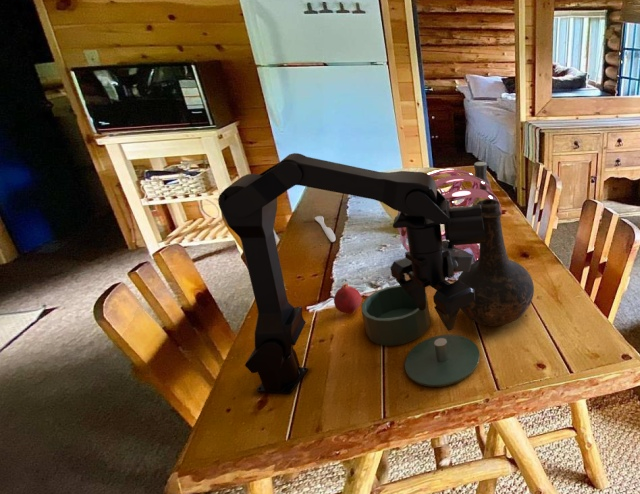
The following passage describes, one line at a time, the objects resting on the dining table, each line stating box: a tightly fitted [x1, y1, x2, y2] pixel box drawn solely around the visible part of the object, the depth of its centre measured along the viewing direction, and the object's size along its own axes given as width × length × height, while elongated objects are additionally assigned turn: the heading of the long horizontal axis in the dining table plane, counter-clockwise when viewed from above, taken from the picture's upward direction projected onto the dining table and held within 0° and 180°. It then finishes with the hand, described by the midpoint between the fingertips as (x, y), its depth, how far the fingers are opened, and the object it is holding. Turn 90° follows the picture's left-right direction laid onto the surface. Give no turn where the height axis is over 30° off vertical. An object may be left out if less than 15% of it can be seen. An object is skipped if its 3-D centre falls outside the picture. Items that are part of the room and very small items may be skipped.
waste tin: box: [361, 284, 431, 347], centre depth 97 cm, size 14×14×6 cm
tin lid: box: [404, 334, 481, 388], centre depth 87 cm, size 15×15×5 cm
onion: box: [333, 282, 363, 315], centre depth 101 cm, size 6×6×8 cm
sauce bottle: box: [472, 161, 492, 205], centre depth 147 cm, size 7×6×20 cm
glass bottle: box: [457, 199, 535, 327], centre depth 96 cm, size 18×18×28 cm
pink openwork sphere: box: [396, 168, 503, 275], centre depth 118 cm, size 28×28×27 cm
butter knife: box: [313, 215, 337, 243], centre depth 144 cm, size 1×24×3 cm
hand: (436, 319), depth 83 cm, fingers open, 9 cm apart
